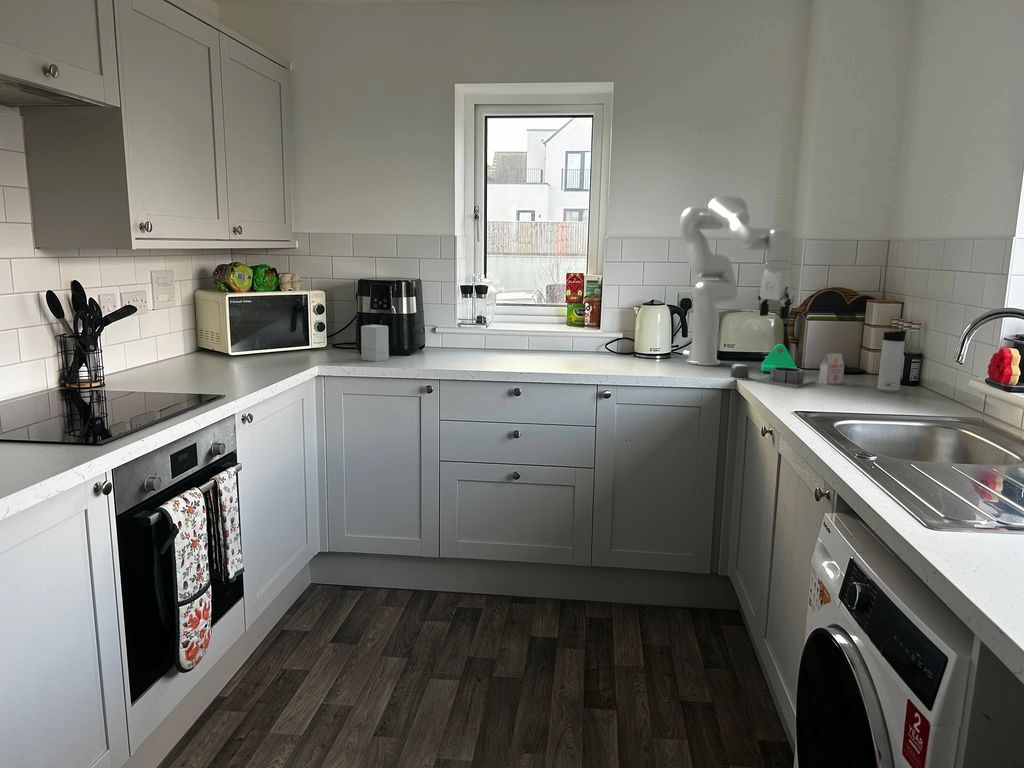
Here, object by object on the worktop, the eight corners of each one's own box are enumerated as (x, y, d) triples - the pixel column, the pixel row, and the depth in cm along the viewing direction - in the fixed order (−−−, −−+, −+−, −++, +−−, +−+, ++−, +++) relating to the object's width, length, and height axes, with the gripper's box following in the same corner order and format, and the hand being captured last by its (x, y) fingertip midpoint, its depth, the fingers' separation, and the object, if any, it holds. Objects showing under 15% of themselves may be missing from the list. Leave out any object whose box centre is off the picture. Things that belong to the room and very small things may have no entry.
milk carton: (818, 382, 261) (821, 353, 259) (834, 381, 263) (837, 352, 261) (826, 384, 257) (829, 355, 255) (842, 383, 260) (845, 354, 258)
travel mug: (890, 394, 242) (898, 331, 238) (872, 390, 248) (879, 329, 244) (903, 393, 245) (911, 330, 241) (885, 389, 251) (892, 328, 247)
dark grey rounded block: (727, 377, 266) (728, 364, 265) (735, 375, 270) (736, 363, 269) (743, 380, 262) (744, 367, 261) (751, 378, 266) (752, 365, 265)
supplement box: (389, 359, 286) (389, 325, 284) (375, 361, 280) (375, 327, 278) (374, 357, 290) (374, 324, 288) (360, 359, 284) (360, 325, 282)
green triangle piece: (761, 373, 276) (763, 345, 274) (760, 370, 284) (763, 342, 282) (796, 376, 273) (799, 347, 271) (795, 372, 280) (797, 344, 278)
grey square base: (756, 381, 258) (757, 368, 258) (776, 377, 268) (777, 364, 267) (797, 388, 249) (798, 374, 248) (815, 383, 259) (816, 370, 258)
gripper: (751, 265, 265) (747, 314, 268) (787, 267, 249) (783, 319, 252) (768, 265, 268) (764, 314, 271) (805, 267, 252) (800, 319, 255)
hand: (773, 317), depth 261 cm, fingers open, 9 cm apart
